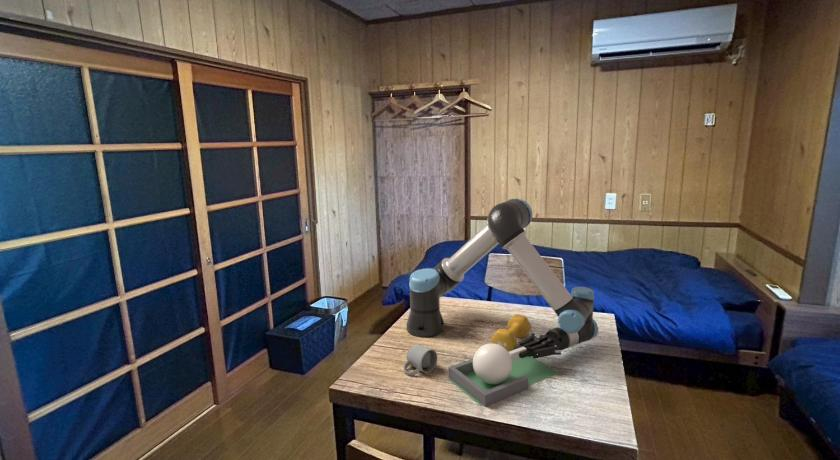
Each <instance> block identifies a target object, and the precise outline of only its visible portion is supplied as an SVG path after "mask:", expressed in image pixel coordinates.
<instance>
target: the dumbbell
mask: <svg viewBox="0 0 840 460" xmlns="http://www.w3.org/2000/svg"><path fill="white" fill-rule="evenodd" d="M531 330H532V324H531V323H530V320H529V319H528V317H527V316H525V315H522V314H513V316H512V317H511V318H510V319H509V321H508V322H507V329H506V328H498V329H497V330H496V331H495V332H494V334H493V335H492V337H491V343H493V344H498V345H500V346H502V347H504V348H505V349H506V350H507V351H508V352H509V351H512V350H514V349H516V348H517V345H518V340H517V338H521V339H525V337H527V336H528V334H529V333H530V331H531Z"/></svg>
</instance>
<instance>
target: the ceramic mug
mask: <svg viewBox="0 0 840 460" xmlns="http://www.w3.org/2000/svg"><path fill="white" fill-rule="evenodd" d="M437 363H438V354H437V351H436V350H435V349H433V348H430V347H427V346H424V345H421V344H413V345H412V346H411V347H410V348H409V349H408V350H407V353H406V362H405V364H404V365H403V371H404V373H405V375H407V376H411V377H412V376H416V375H417V374H418V373H420V372H422V373H424V374H428V373H430V372H432V371H433V370H434V369H435V368H436V365H437ZM409 366H411V367H413V368H415V369H414V370H411V371H408V370H407V368H408V367H409ZM426 369H427V370H426Z"/></svg>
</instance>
